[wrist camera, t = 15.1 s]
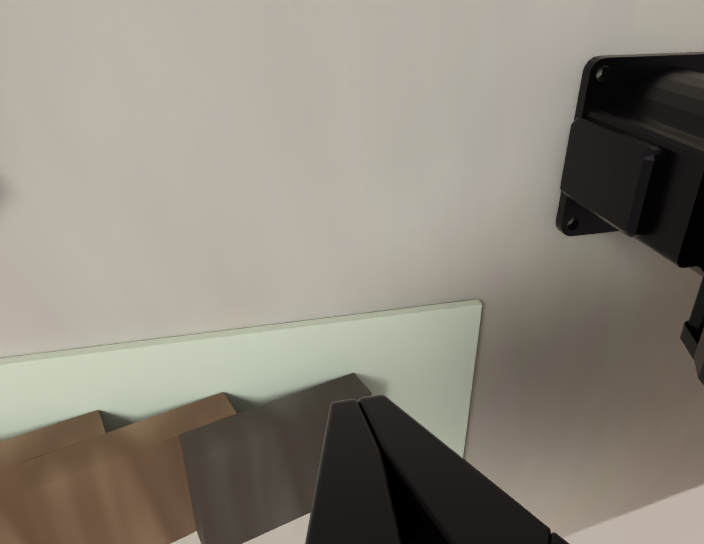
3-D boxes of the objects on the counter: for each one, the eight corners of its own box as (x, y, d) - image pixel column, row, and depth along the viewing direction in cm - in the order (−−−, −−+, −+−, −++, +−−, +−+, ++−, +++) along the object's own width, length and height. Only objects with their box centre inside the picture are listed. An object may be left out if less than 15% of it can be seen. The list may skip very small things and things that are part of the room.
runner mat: (478, 299, 24) (482, 304, 24) (456, 476, 29) (459, 483, 28) (-368, 403, 18) (-379, 412, 18) (-220, 602, 23) (-226, 612, 23)
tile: (371, 392, 23) (190, 460, 20) (369, 485, 25) (207, 559, 22) (353, 372, 24) (178, 434, 21) (353, 463, 26) (196, 530, 23)
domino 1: (105, 433, 21) (-142, 518, 18) (130, 529, 23) (-84, 619, 20) (98, 409, 22) (-137, 485, 19) (123, 504, 24) (-82, 585, 21)
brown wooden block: (236, 413, 22) (24, 493, 18) (247, 507, 24) (61, 592, 21) (223, 392, 23) (19, 463, 20) (235, 484, 25) (55, 562, 22)
